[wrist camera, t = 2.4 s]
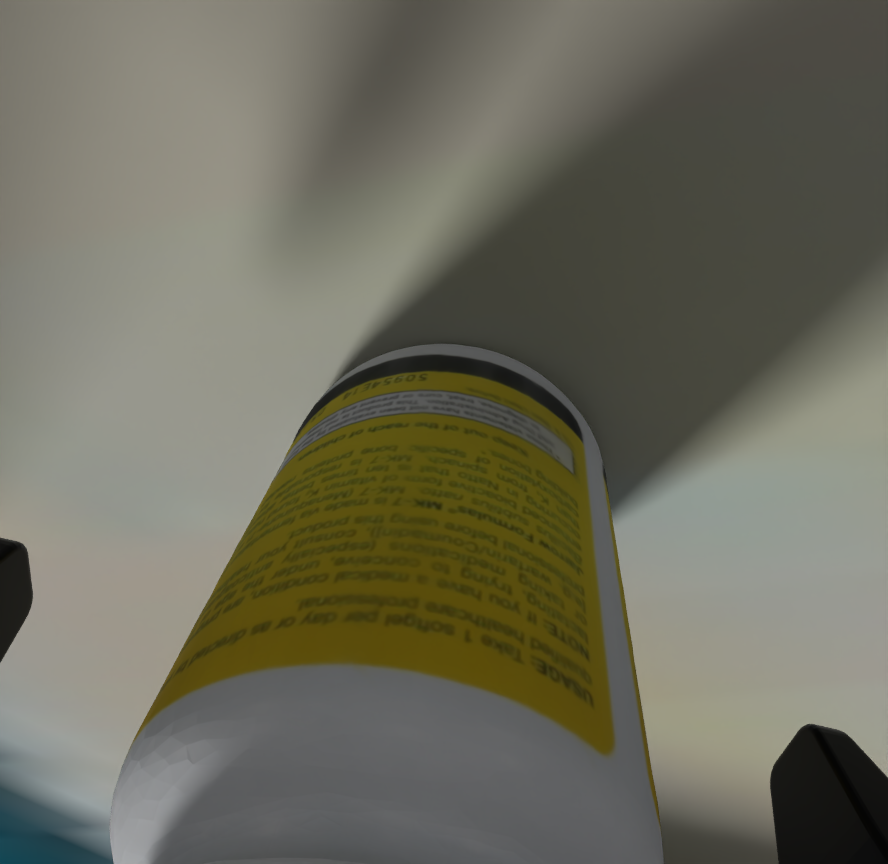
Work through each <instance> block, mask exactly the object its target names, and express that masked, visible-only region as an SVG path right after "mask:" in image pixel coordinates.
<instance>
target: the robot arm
mask: <svg viewBox="0 0 888 864" xmlns="http://www.w3.org/2000/svg"><path fill="white" fill-rule="evenodd" d="M32 599H33V591H32V582H31V574H30V566H29V558H28V552H27V549H26V547H25V546H24V545H23V544H22V543H20V542H17V541H13V540H8V539H4V538H0V662H1V661H2V659H3V657H4V656H5V654H6V652H7V650H8V649H9V647H10V645H11V644H12V642H13V640H14V638H15V637H16V635H17V633H18V631H19V630H20V628H21V626H22V625H23V623H24V621H25V619H26V617H27V616H28V613H29V611H30V608H31V605H32ZM770 789H771V798H772V807H773V816H774V825H775V834H776V843H777V852H778V861H779V864H888V777H887V776H886V775H885V774H884V773H883V772H882V771H881V770H880V769H879V768H878V767H877V766H876V764H875V763H874V762H873V761H872V760H871V759H870V758H869V757H868V756H867V755H866V754H865V753H864V751H863V750H862V749H861V748H860V747H859V746H858V745H857V744H856V743H855V742H854V741H853V740H852V739H851V738H850V737H849V736H848V735H847V734H846V733H844V732H842V731H840V730H836V729H832V728H828V727H823V726H819V725H815V724H807V725H805V726H803V727H802V728H801V729H800V730H799V731H798V732H797V734H796V735H795V736H794V738H793V739H792V740H791V742H790V743H789V745H788V746H787V747H786V749H785V750H784V751H783V753H782V754H781V756H780V757H779V758H778V760H777V761H776V763H775V764H774V766H773V769H772V772H771V779H770Z"/></svg>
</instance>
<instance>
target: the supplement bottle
mask: <svg viewBox="0 0 888 864" xmlns="http://www.w3.org/2000/svg"><path fill="white" fill-rule="evenodd" d="M110 841H111V848H112V855H113V862H114V864H664V859H663V847H662V835H661V826H660V818H659V811H658V804H657V797H656V791H655V786H654V781H653V775H652V770H651V764H650V757H649V751H648V744H647V738H646V731H645V725H644V719H643V713H642V706H641V700H640V694H639V688H638V682H637V675H636V669H635V663H634V656H633V647H632V641H631V635H630V629H629V623H628V617H627V610H626V603H625V597H624V590H623V584H622V579H621V573H620V566H619V559H618V552H617V546H616V540H615V534H614V527H613V521H612V514H611V508H610V502H609V495H608V489H607V482H606V474H605V469H604V465H603V461H602V457H601V454H600V450H599V447H598V444H597V442H596V440H595V438H594V435H593V433H592V431H591V429H590V427H589V426H588V424H587V423H586V421H585V419H584V418H583V416H582V415H581V413H580V412H579V411H578V410H577V409H576V407H575V406H574V405H573V404H572V402H571V401H570V400H569V399H568V398H567V397H566V396H565V395H564V394H563V393H562V392H561V391H560V390H559V389H558V388H557V387H556V386H555V385H553V384H552V383H551V382H550V381H549V380H547V379H546V378H545V377H543V376H542V375H541V374H539V373H538V372H536V371H535V370H533V369H532V368H530V367H528V366H527V365H525V364H523V363H521V362H519V361H517V360H515V359H513V358H510V357H508V356H505V355H503V354H500V353H497V352H494V351H490V350H486V349H483V348H479V347H472V346H464V345H457V344H428V345H418V346H412V347H407V348H403V349H399V350H395V351H391V352H388V353H385V354H383V355H380V356H378V357H375V358H373V359H371V360H369V361H367V362H365V363H363V364H361V365H360V366H358V367H356V368H355V369H353V370H351V371H350V372H349V373H347V374H346V375H344V376H343V377H342V378H341V379H339V380H338V381H337V382H336V383H335V384H334V385H333V386H332V387H331V388H329V389H328V390H327V391H326V393H325V394H324V395H323V396H322V397H321V399H320V400H319V401H318V402H317V403H316V404H315V406H314V407H313V409H312V410H311V411H310V413H309V414H308V416H307V417H306V419H305V420H304V422H303V424H302V425H301V427H300V429H299V430H298V432H297V434H296V437H295V439H294V441H293V443H292V445H291V447H290V449H289V450H288V452H287V454H286V457H285V459H284V461H283V463H282V465H281V467H280V468H279V470H278V472H277V474H276V476H275V478H274V479H273V481H272V483H271V485H270V487H269V489H268V491H267V493H266V494H265V496H264V498H263V500H262V502H261V504H260V505H259V507H258V509H257V511H256V513H255V515H254V517H253V519H252V520H251V522H250V524H249V526H248V527H247V529H246V531H245V533H244V535H243V537H242V538H241V540H240V542H239V543H238V545H237V547H236V549H235V551H234V553H233V555H232V557H231V559H230V561H229V562H228V564H227V566H226V568H225V569H224V571H223V573H222V575H221V577H220V579H219V581H218V583H217V585H216V587H215V589H214V591H213V593H212V595H211V597H210V599H209V600H208V602H207V604H206V605H205V607H204V609H203V611H202V613H201V614H200V616H199V618H198V620H197V622H196V623H195V625H194V627H193V629H192V631H191V633H190V635H189V637H188V638H187V640H186V642H185V644H184V646H183V648H182V650H181V652H180V654H179V656H178V657H177V659H176V661H175V663H174V665H173V667H172V669H171V671H170V673H169V675H168V676H167V678H166V680H165V682H164V684H163V686H162V688H161V690H160V692H159V694H158V695H157V697H156V699H155V701H154V703H153V705H152V706H151V708H150V710H149V712H148V714H147V716H146V717H145V719H144V721H143V723H142V725H141V727H140V729H139V731H138V733H137V734H136V736H135V738H134V740H133V743H132V745H131V747H130V749H129V751H128V754H127V756H126V759H125V761H124V764H123V766H122V769H121V772H120V775H119V778H118V781H117V784H116V788H115V791H114V795H113V801H112V807H111V817H110Z"/></svg>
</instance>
